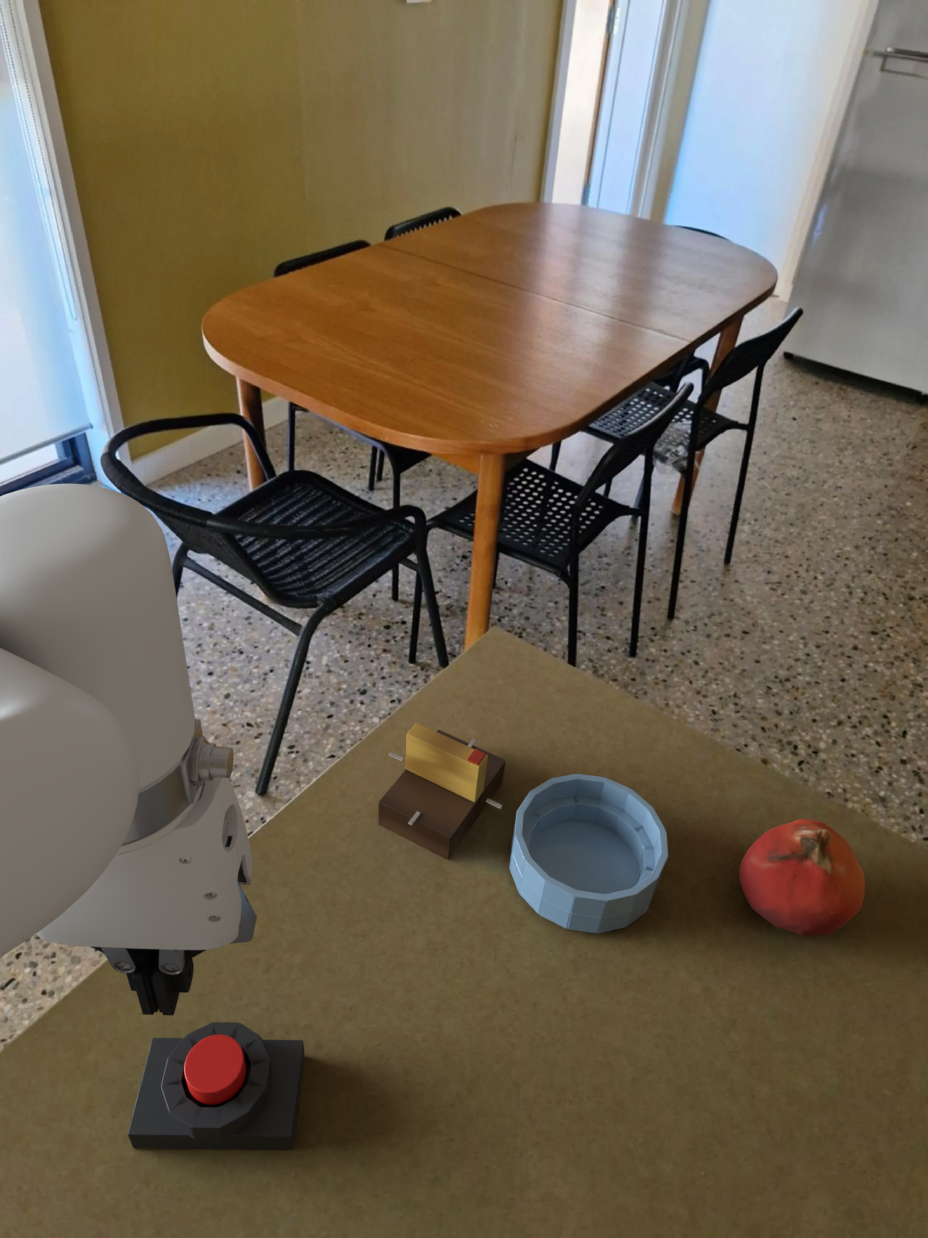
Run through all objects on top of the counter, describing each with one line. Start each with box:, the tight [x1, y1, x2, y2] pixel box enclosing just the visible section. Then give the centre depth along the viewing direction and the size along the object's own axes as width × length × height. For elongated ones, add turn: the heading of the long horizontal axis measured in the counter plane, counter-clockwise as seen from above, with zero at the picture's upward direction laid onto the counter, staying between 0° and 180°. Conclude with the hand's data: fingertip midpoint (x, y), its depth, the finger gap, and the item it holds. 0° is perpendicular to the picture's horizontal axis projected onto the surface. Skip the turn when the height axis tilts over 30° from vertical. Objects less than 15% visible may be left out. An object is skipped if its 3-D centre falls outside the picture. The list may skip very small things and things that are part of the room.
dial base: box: [377, 729, 506, 861], centre depth 78 cm, size 11×11×3 cm
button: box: [184, 1035, 246, 1105], centre depth 56 cm, size 4×4×2 cm
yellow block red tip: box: [404, 722, 488, 802], centre depth 75 cm, size 7×2×5 cm, turn 61°
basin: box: [508, 773, 669, 934], centre depth 73 cm, size 12×12×5 cm
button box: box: [127, 1021, 306, 1151], centre depth 57 cm, size 10×6×4 cm, turn 91°
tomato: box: [738, 818, 866, 937], centre depth 71 cm, size 9×9×8 cm
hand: (165, 989), depth 49 cm, fingers closed
